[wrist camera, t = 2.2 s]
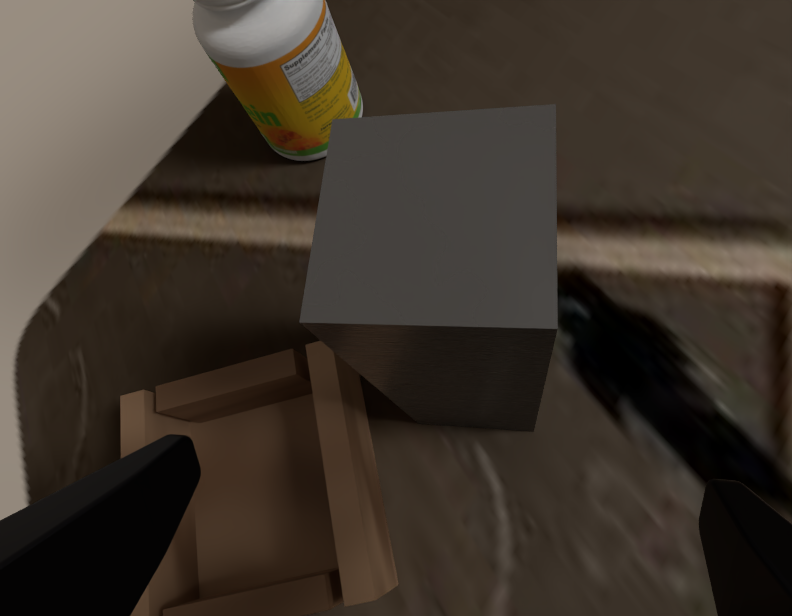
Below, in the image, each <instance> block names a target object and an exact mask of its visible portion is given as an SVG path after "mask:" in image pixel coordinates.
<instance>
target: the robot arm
mask: <svg viewBox="0 0 792 616" xmlns="http://www.w3.org/2000/svg"><path fill="white" fill-rule="evenodd" d="M200 477H201V467H200V464H199V460H198V457H197V454H196V450H195V447H194V444H193V441H192V439H191V438H190V437H189V436H187V435H177V434H169V435H166V436H164V437H162V438H160V439H158V440H156V441H154V442H152V443H150V444H148V445H146V446H144V447H142V448H140V449H138V450H137V451H135V452H133V453H131V454H129V455H127V456H125V457H123V458H121V459H119V460H117V461H115V462H113V463H111V464H109V465H107V466H105V467H103V468H102V469H100V470H98V471H96V472H94V473H92V474H90V475H88V476H86V477H84V478H82V479H80V480H78V481H76V482H74V483H72V484H70V485H68V486H67V487H65V488H63V489H61V490H59V491H57V492H55V493H53V494H51V495H49V496H47V497H45V498H43V499H41V500H39V501H37V502H35V503H33V504H32V505H30V506H28V507H26V508H24V509H22V510H20V511H18V512H16V513H14V514H12V515H10V516H8V517H6V518H4V519H2V520H0V616H130V615H131V614H132V612H133V610H134V608H135V607H136V605H137V603H138V602H139V600H140V598H141V596H142V595H143V593H144V591H145V589H146V588H147V586H148V584H149V582H150V581H151V579H152V577H153V576H154V574H155V572H156V570H157V569H158V567H159V565H160V563H161V561H162V560H163V558H164V556H165V554H166V552H167V550H168V548H169V546H170V544H171V542H172V540H173V538H174V535H175V533H176V531H177V529H178V527H179V524H180V522H181V520H182V518H183V516H184V514H185V511H186V509H187V507H188V505H189V503H190V501H191V498H192V496H193V494H194V492H195V490H196V488H197V485H198V483H199V480H200ZM699 532H700V537H701V541H702V546H703V550H704V555H705V560H706V564H707V569H708V573H709V578H710V582H711V587H712V591H713V596H714V600H715V605H716V609H717V614H718V616H792V524H791V523H790V522H789V521H787V520H786V519H785V518H784V517H783V516H781V515H780V514H779V513H778V512H776V511H775V510H774V509H773V508H772V507H770V506H769V505H768V504H767V503H766V502H764V501H763V500H762V499H761V498H759V497H758V496H757V495H756V494H755V493H753V492H752V491H751V490H750V489H749V488H747V487H746V486H745V485H744V484H742V483H740V482H738V481H734V480H722V479H711V480H709V481H708V483H707V485H706V488H705V493H704V497H703V502H702V507H701V511H700V516H699Z"/></svg>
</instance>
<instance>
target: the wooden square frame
mask: <svg viewBox="0 0 792 616" xmlns="http://www.w3.org/2000/svg"><path fill="white" fill-rule="evenodd" d="M305 346H306V352H307V358H306V357H305V356H303V355H302V354H300V353H299V352H297V351H296V350H294V349H293V348H292V349H288V350H285V351H281V352H278V353H274V354H270V355H267V356H263V357H260V358H256V359H252V360H249V361H245V362H242V363H238V364H234V365H231V366H227V367H224V368H220V369H216V370H213V371H209V372H205V373H202V374H198V375H195V376H191V377H187V378H184V379H180V380H177V381H173V382H169V383H166V384H162V385H159V386H156V393H153V392H150V391H147V390H141V391H137V392H133V393H130V394H126V395H123V396H120V407H121V458H123V457H125V456H127V455H129V454H131V453H133V452H135V451H137V450H138V449H140V448H142V447H144V446H146V445H148V444H150V443H152V442H154V441H156V440H158V439H160V438H162V437H164V436H166V435H169V434H177V435H187V436H189V437H190V438H191V439H192V441H193V444H194V447H195V450H196V454H197V457H198V460H199V464H200V467H201V477H200V480H199V483H198V485H197V488H196V490H195V492H194V494H193V496H192V498H191V501H190V503H189V505H188V507H187V509H186V511H185V514H184V516H183V518H182V520H181V522H180V524H179V527H178V529H177V531H176V533H175V535H174V538H173V540H172V542H171V544H170V546H169V548H168V550H167V552H166V554H165V556H164V558H163V560H162V561H161V563H160V565H159V567H158V569H157V570H156V572H155V574H154V576H153V577H152V579H151V581H150V582H149V584H148V586H147V588H146V589H145V591H144V593H143V595H142V596H141V598H140V600H139V602H138V603H137V605H136V607H135V608H134V610H133V612H132V614H131V615H130V616H303V615H308V614H313V613H318V612H322V611H327V610H330V609H332V608H334V607H335V606H337V605H339V604H341V603H343V602H344V606H345V607H346V606H351V605H356V604H360V603H365V602H370V601H375V600H377V599H378V598H380V597H381V596H383V595H384V594H386V593H387V592H389V591H390V590H392V589H393V588H395V587H396V586H397V585H398V579H397V574H396V568H395V563H394V558H393V552H392V547H391V542H390V536H389V531H388V526H387V520H386V515H385V509H384V504H383V499H382V493H381V488H380V483H379V477H378V472H377V466H376V461H375V456H374V450H373V445H372V440H371V434H370V429H369V423H368V418H367V413H366V407H365V402H364V397H363V391H362V386H361V381H360V375H359V373H358V372H357V371H356V370H355V369H354V368H352V367H351V366H350V365H349V364H348V363H346V362H345V361H344V360H343V359H342V358H341V357H339V356H338V355H337V354H336V353H335V352H334V351H332V350H331V349H330V348H329V347H328V346H326V345H325V344H324V343H323V342H322V341H317V342H314V343H310V344H306V345H305Z"/></svg>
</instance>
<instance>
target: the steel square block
mask: <svg viewBox="0 0 792 616" xmlns="http://www.w3.org/2000/svg"><path fill="white" fill-rule="evenodd" d="M299 323H301V324H302V325H303V326H304V327H305V328H306V329H308V330H309V331H310V332H311V333H312V334H313V335H315V336H316V337H317V338H318V339H319V340H321V341H322V342H323V343H324V344H325V345H326V346H328V347H329V348H330V349H331V350H332V351H334V352H335V353H336V354H337V355H338V356H339V357H341V358H342V359H343V360H344V361H345V362H346V363H348V364H349V365H350V366H351V367H352V368H354V369H355V370H356V371H357V372H358V373H359V374H361V375H362V376H363V377H364V378H365V379H367V380H368V381H369V382H370V383H371V384H372V385H374V386H375V387H376V388H377V389H378V390H379V391H381V392H382V393H383V394H384V395H385V396H387V397H388V398H389V399H390V400H391V401H392V402H394V403H395V404H396V405H397V406H398V407H400V408H401V409H402V410H403V411H404V412H405V413H407V414H408V415H409V416H410V417H411V418H412V419H414V420H415V421H416V422H417V423H418V424H432V425H447V426H461V427H476V428H491V429H506V430H520V431H534V428H535V424H536V419H537V415H538V411H539V406H540V402H541V398H542V393H543V389H544V385H545V381H546V376H547V372H548V368H549V363H550V359H551V355H552V350H553V346H554V342H555V338H556V333H557V199H556V104H552V105H537V106H522V107H508V108H493V109H478V110H463V111H449V112H434V113H419V114H405V115H390V116H375V117H361V118H346V119H332V125H331V131H330V137H329V144H328V150H327V156H326V162H325V168H324V174H323V180H322V186H321V193H320V199H319V205H318V211H317V217H316V223H315V229H314V235H313V242H312V248H311V254H310V260H309V266H308V272H307V278H306V285H305V291H304V297H303V303H302V309H301V315H300V321H299Z"/></svg>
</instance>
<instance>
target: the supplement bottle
mask: <svg viewBox="0 0 792 616" xmlns="http://www.w3.org/2000/svg"><path fill="white" fill-rule="evenodd" d="M193 1H194V2H195V3H194V8H193V25H194V30H195V34H196V36H197V38H198V40H199V42H200V44H201V45H202V47H203V48H204V50H205V52H206V53H207V55H208V56H209V58H210V59H211V61H212V62H213V63H214V65H215V66H216V68H217V69H218V71H219V72H220V74H221V75H222V76H223V78H224V79H225V81H226V82H227V84H228V85H229V87H230V88H231V90H232V91H233V93H234V94H235V96H236V97H237V98H238V100H239V101H240V103H241V104H242V106H243V107H244V109H245V110H246V112H247V113H248V115H249V116H250V118H251V119H252V121H253V122H254V124H255V125H256V126H257V128H258V129H259V131H260V133H261V134H262V136H263V137H264V138H265V140H266V141H267V142H268V144H269V145H270V146H271V147H272V149H273V150H275V151H276V152H277V153H278V154H280V155H281V156H283V157H286V158H289V159H292V160H297V161H310V160H316V159H320V158H323V157H326V156H327V150H328V144H329V137H330V131H331V125H332V119H346V118H361V117H362V113H363V103H362V98H361V94H360V91H359V88H358V85H357V82H356V80H355V77H354V74H353V72H352V69H351V67H350V64H349V61H348V59H347V56H346V53H345V51H344V48H343V46H342V43H341V40H340V38H339V35H338V33H337V30H336V27H335V25H334V22H333V19H332V17H331V14H330V12H329V9H328V6H327V3H326V1H325V0H193Z"/></svg>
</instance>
